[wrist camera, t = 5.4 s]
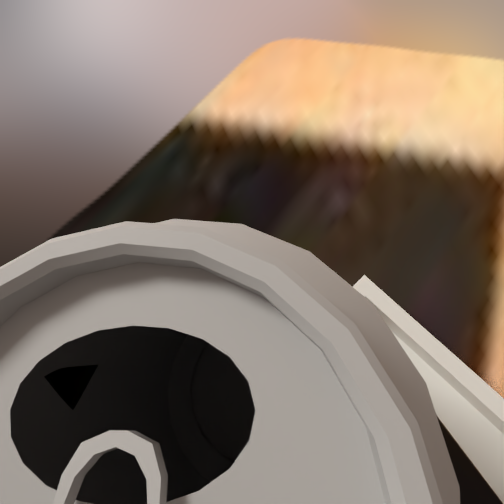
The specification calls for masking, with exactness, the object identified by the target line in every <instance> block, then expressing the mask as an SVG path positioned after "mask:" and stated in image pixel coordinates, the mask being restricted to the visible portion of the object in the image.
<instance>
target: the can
mask: <svg viewBox="0 0 504 504" xmlns="http://www.w3.org/2000/svg"><path fill="white" fill-rule="evenodd" d="M87 365H98V367H97V369H96V370H95V372H94V374H93V376H92V378H91V379H90V381H89V383H88V385H87V387H86V389H85V390H84V392H83V394H82V396H81V398H80V400H79V401H78V403H77V405H76V406H75V408H74V409H73V410H72V409H71V408H70V407H69V406H68V405H67V404H66V402H65V401H64V400H63V399H62V398H61V397H60V396H59V395H58V393H57V392H56V391H55V390H54V388H53V387H52V386H51V385H50V383H49V382H48V381H47V380H46V378H45V377H44V376H46V375H48V374H49V373H51V372H53V371H56V370H58V369H61V368H66V367H75V366H87ZM0 504H460V487H459V484H458V481H457V477H456V474H455V471H454V468H453V465H452V462H451V459H450V456H449V453H448V450H447V446H446V443H445V440H444V437H443V434H442V431H441V428H440V425H439V422H438V419H437V415H436V412H435V409H434V406H433V403H432V400H431V397H430V394H429V391H428V388H427V384H426V382H425V381H424V379H423V378H422V376H421V375H420V373H419V372H418V370H417V369H416V367H415V366H414V364H413V363H412V361H411V360H410V358H409V357H408V355H407V354H406V352H405V351H404V349H403V348H402V346H401V345H400V343H399V342H398V340H397V339H396V337H395V336H394V334H393V333H392V331H391V330H390V328H389V327H388V325H387V324H386V323H385V321H384V320H383V318H382V317H381V315H380V314H379V312H378V311H377V309H376V308H375V306H374V305H373V303H371V302H370V301H369V300H368V299H367V298H365V297H364V296H363V295H362V294H360V293H359V292H358V291H357V290H356V289H354V288H353V287H352V286H351V285H350V284H348V283H347V282H346V281H345V280H343V279H342V278H341V277H340V276H339V275H337V274H336V273H335V272H334V271H332V270H331V269H330V268H329V267H328V266H326V265H325V264H324V263H323V262H322V261H320V260H319V259H318V258H317V257H315V256H314V255H313V254H312V253H311V252H309V251H307V250H304V249H302V248H300V247H297V246H295V245H292V244H290V243H287V242H285V241H282V240H280V239H277V238H275V237H272V236H270V235H267V234H265V233H262V232H260V231H258V230H255V229H253V228H250V227H248V226H245V225H243V224H235V223H221V222H208V221H194V220H181V219H171V220H167V221H162V222H158V223H154V224H153V223H140V222H128V221H126V222H122V223H117V224H113V225H109V226H104V227H100V228H96V229H91V230H87V231H83V232H79V233H74V234H70V235H66V236H61V237H57V238H53V239H50V240H48V241H47V242H45V243H43V244H41V245H39V246H38V247H36V248H34V249H32V250H30V251H29V252H27V253H25V254H23V255H21V256H20V257H18V258H16V259H15V260H12V261H11V262H9V263H7V264H5V265H3V266H2V267H0Z"/></svg>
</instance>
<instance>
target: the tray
mask: <svg viewBox="0 0 504 504" xmlns="http://www.w3.org/2000/svg"><path fill="white" fill-rule="evenodd" d="M353 288H354V289H356V290H357V291H358V292H359V293H360V294H362V295H363V296H364V297H365V298H367V299H368V300H369V301H370V302H371V303H373V305H374V306H375V308H376V309H377V311H378V312H379V314H380V315H381V317H382V318H383V320H384V321H385V323H386V324H387V325H388V327H389V328H390V330H391V331H392V333H393V334H394V336H395V337H396V339H397V340H398V342H399V343H400V345H401V346H402V348H403V349H404V351H405V352H406V354H407V355H408V357H409V358H410V360H411V361H412V363H413V364H414V366H415V367H416V369H417V370H418V372H419V373H420V375H421V376H422V378H423V379H424V381H425V382H426V384H427V388H428V391H429V394H430V397H431V400H432V403H433V406H434V409H435V412H436V415H437V416H438V418H439V419H440V420H441V422H442V423H443V424H444V426H445V427H446V428H447V430H448V431H449V432H450V434H451V435H452V436H453V438H454V439H455V440H456V442H457V443H458V444H459V446H460V447H461V448H462V449H463V451H464V452H465V453H466V455H467V456H468V457H469V459H470V460H471V461H472V463H473V464H474V465H475V467H476V468H477V469H478V471H479V472H480V473H481V475H482V476H483V477H484V479H485V480H486V481H487V483H488V484H489V485H490V487H491V488H492V489H493V491H494V492H495V493H496V495H497V496H498V497H499V499H500V500H501V501H502V503H503V504H504V398H503V397H501V396H500V395H499V394H498V393H497V392H496V391H495V390H493V389H492V388H491V387H490V386H489V385H488V384H487V383H486V382H484V381H483V380H482V379H481V378H480V377H479V376H478V375H477V374H475V373H474V372H473V371H472V370H471V369H470V368H469V367H468V366H466V365H465V364H464V363H463V362H462V361H461V360H460V359H458V358H457V357H456V356H455V355H454V354H453V353H452V352H451V351H449V350H448V349H447V348H446V347H445V346H444V345H443V344H442V343H440V342H439V341H438V340H437V339H436V338H435V337H434V336H433V335H431V334H430V333H429V332H428V331H427V330H426V329H425V328H423V327H422V326H421V325H420V324H419V323H418V322H417V321H416V320H414V319H413V318H412V317H411V316H410V315H409V314H408V313H407V312H405V311H404V310H403V309H402V308H401V307H400V306H399V305H398V304H396V303H395V302H394V301H393V300H392V299H391V298H390V297H389V296H387V295H386V294H385V293H384V292H383V291H382V290H381V289H379V288H378V287H377V286H376V285H375V284H374V283H373V282H372V281H370V280H369V279H368V278H367V277H366V276H365V275H364V276H363V277H362V278H361V279H360V280H359V281H358V282H357V283H356V284H355V285H354V286H353Z"/></svg>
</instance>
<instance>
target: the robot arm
mask: <svg viewBox="0 0 504 504" xmlns="http://www.w3.org/2000/svg"><path fill="white" fill-rule="evenodd" d="M97 367H98V365H87V366H75V367H66V368H61V369H58V370H56V371H53V372H51V373H49V374H48V375H46V376H44V377H45V378H46V380H47V381H48V382H49V383H50V385H51V386H52V387H53V388H54V390H55V391H56V392H57V393H58V395H59V396H60V397H61V398H62V399H63V400H64V401H65V402H66V404H67V405H68V406H69V407H70V408H71V409H72V410H73V409H74V408H75V406H76V405H77V403H78V401H79V400H80V398H81V396H82V394H83V392H84V390H85V389H86V387H87V385H88V383H89V381H90V379H91V378H92V376H93V374H94V372H95V370H96V369H97ZM437 419H438V422H439V425H440V428H441V431H442V434H443V437H444V440H445V443H446V446H447V450H448V453H449V456H450V459H451V462H452V465H453V468H454V471H455V474H456V477H457V481H458V484H459V487H460V504H503V503H502V501H501V500H500V499H499V497H498V496H497V495H496V493H495V492H494V491H493V489H492V488H491V487H490V485H489V484H488V483H487V481H486V480H485V479H484V477H483V476H482V475H481V473H480V472H479V471H478V469H477V468H476V467H475V465H474V464H473V463H472V461H471V460H470V459H469V457H468V456H467V455H466V453H465V452H464V451H463V449H462V448H461V447H460V446H459V444H458V443H457V442H456V440H455V439H454V438H453V436H452V435H451V434H450V432H449V431H448V430H447V428H446V427H445V426H444V424H443V423H442V422H441V420H440V419H439V418H438V416H437Z"/></svg>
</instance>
